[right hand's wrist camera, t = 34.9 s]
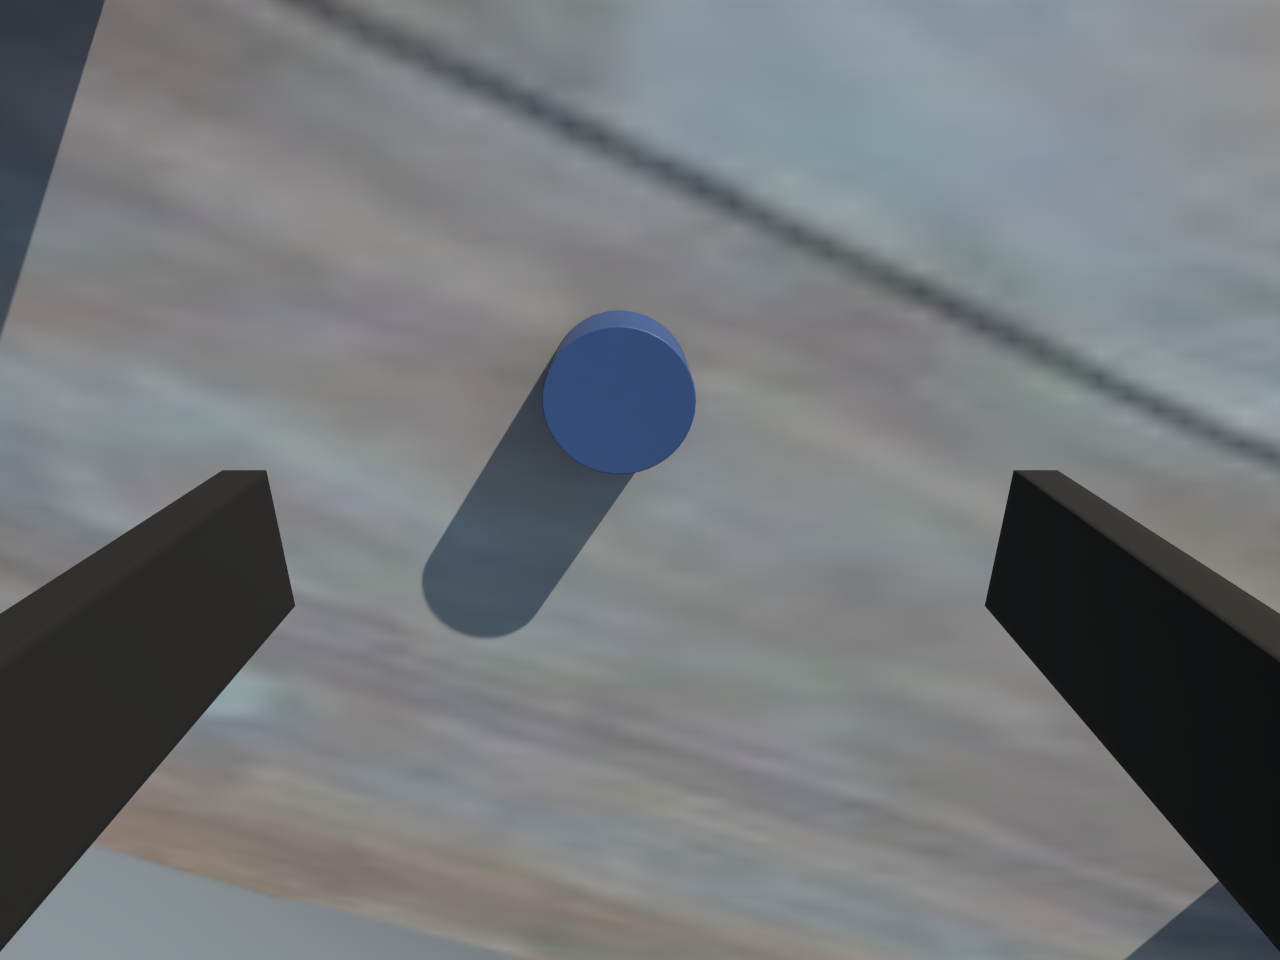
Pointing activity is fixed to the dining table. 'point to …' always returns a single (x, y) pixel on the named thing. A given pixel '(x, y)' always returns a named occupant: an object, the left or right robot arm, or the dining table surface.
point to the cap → (619, 393)
